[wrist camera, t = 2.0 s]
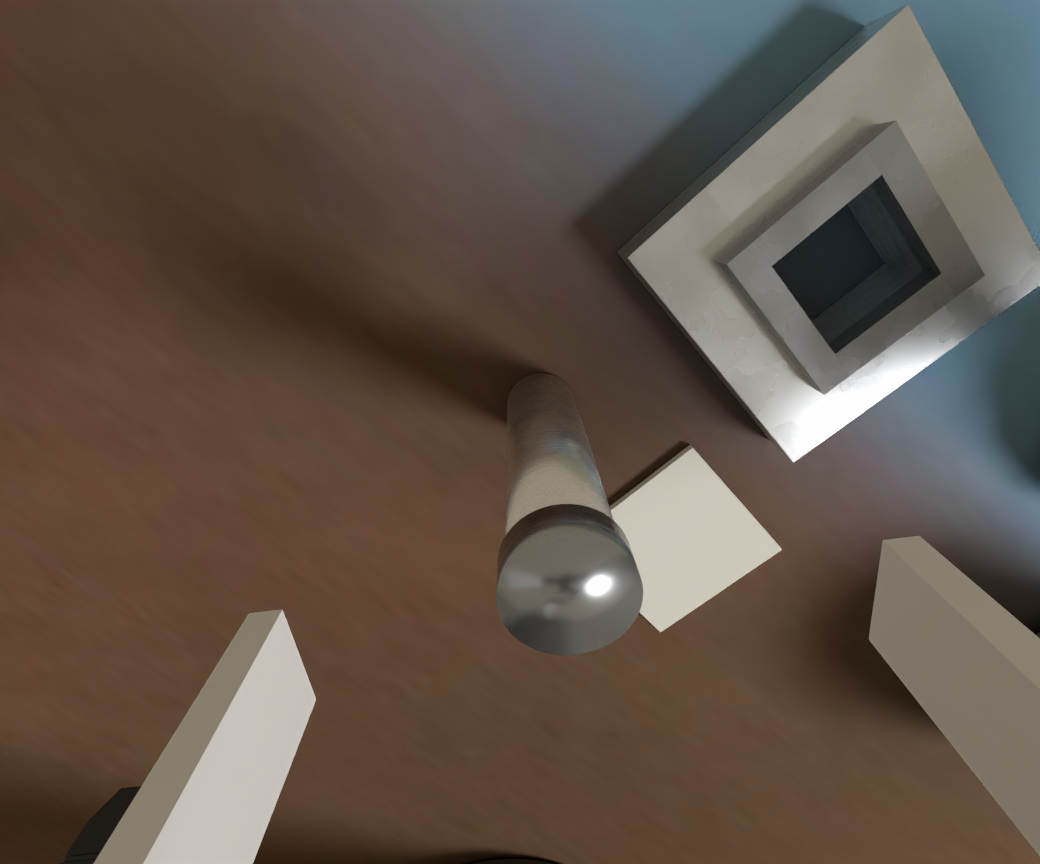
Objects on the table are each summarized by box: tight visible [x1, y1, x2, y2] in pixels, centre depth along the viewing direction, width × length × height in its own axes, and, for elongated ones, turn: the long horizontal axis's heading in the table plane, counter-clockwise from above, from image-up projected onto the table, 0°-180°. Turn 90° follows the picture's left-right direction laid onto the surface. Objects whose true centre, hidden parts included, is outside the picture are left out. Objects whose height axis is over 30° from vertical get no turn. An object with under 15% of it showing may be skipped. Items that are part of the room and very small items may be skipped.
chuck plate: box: [617, 5, 1040, 462], centre depth 23 cm, size 12×12×4 cm
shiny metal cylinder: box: [497, 373, 643, 655], centre depth 20 cm, size 4×4×14 cm
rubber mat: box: [610, 445, 782, 632], centre depth 30 cm, size 8×8×1 cm
